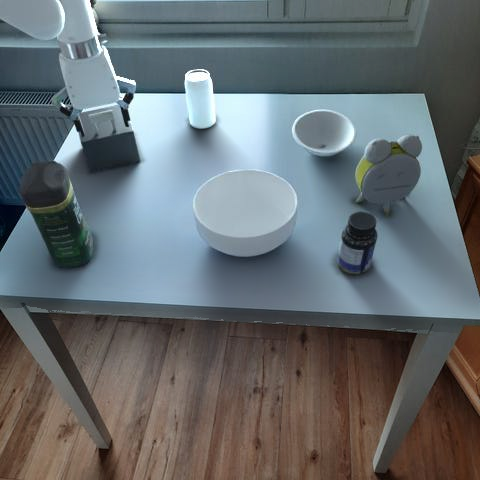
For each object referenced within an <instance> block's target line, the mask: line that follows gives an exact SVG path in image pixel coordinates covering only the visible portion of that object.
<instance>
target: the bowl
mask: <svg viewBox="0 0 480 480" xmlns="http://www.w3.org/2000/svg"><path fill="white" fill-rule="evenodd" d="M298 208H299V199H298V196H297V193H296V190H295V189H294V187H293V186H292V185H291V184H290V183H289V182H288V181H287V180H286V179H284V178H282V177H281V176H279V175H277V174H275V173H272V172H269V171H265V170H260V169H250V168H249V169H244V168H243V169H235V170H229V171H225V172H223V173H220V174H217V175H215V176H214V177H212V178H210V179H208V180H207V181H206V182H204V183H203V184H202V185H201V186H200V187H199V188H198V189H197V191H196V193H195V195H194V196H193V201H192V213H193V218H194V222H195V226H196V230H197V232H198V235H199V236H200V238H201V239H202V241H203V242H205V243H206V244H207V245H208V246H209V247H211V248H213V249H215V250H216V251H218V252H221V253H223V254H226V255H229V256H233V257H240V258H241V257H243V258H244V257H245V258H247V257H257V256H260V255H265V254H267V253H269V252H271V251H273V250H275V249H276V248H279V247H280V246H281V245H283V244H284V243H285V242H286V241H287V240H288V239H289V238H290V237H291V235H292V234H293V232H294V230H295V227H296V221H297V218H298Z"/></svg>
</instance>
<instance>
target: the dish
mask: <svg viewBox="0 0 480 480" xmlns="http://www.w3.org/2000/svg"><path fill="white" fill-rule="evenodd" d="M291 132H292V137H293V139H294V141H295V142H296V143H297V144H298V145H299V146H300V147H301V148H303V149H304V150H305V151H306V152H308V153H310V154H312V155H313V156H316V157H317V156H318V157H333V156H335V155H337V154H339V153H341V152H344V151H345V150H347V149H349V148H350V147H351V146H352V145H353V144H354V143H355V141H356V138H357V127H356V126H355V123H354V122H353V121H352V119H350V118H349V117H347V116H346V115H344V114H342V113H340V112H338V111H335V110H329V109H315V110H310V111H307V112H304V113H303V114H301V115H299V116H298V117H297V118H296V119H295V121H294V122H293V125H292V128H291Z"/></svg>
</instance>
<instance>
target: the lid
mask: <svg viewBox="0 0 480 480" xmlns="http://www.w3.org/2000/svg"><path fill="white" fill-rule="evenodd" d="M79 117H80V120H81V123H82V126H83V129H84V133H85V136H84V137H82V135H81V133H80V132H77V133H78V136H79V141H80V144H81V147H82V146H83V145H87V144H92V143H96V142H101V141H106V140H110V139H115V138H119V137H124V136H128V135H133V134H134V135H135V131H134V129H133V128H134V127H133V125H132V122H131V121H128V124H129V127H126V126H125V123H124V120H123V116H122V112H121V109H120V105H119V104H115V105H111V106H106V107H101V108H97V109H91V110H87V111H86V110H85V111H82V112H81V111H80V112H79Z"/></svg>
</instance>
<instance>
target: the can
mask: <svg viewBox="0 0 480 480" xmlns="http://www.w3.org/2000/svg"><path fill="white" fill-rule="evenodd" d="M184 88H185V90H184V91H185V95H186V105H187V111H188V119H189V123H190V126H191V127H193V128H194V129H208V128H211V127H212V126H214V124H215V123H216V113H215V102H214V101H215V100H214V89H213V81H212V78H211V77H210V73H209V71H208V70H205V69H193V70H189V71H188V72H187V73H186V74H185V80H184Z"/></svg>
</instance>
